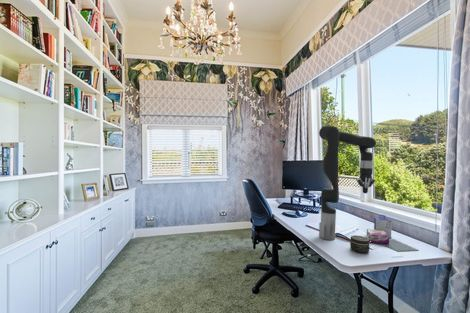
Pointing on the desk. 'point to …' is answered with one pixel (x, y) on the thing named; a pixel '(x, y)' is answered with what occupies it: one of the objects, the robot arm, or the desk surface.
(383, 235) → the candy bar box
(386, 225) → the ink cartridge box
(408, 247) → the mat
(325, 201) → the robot arm
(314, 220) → the desk surface
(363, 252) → the jar
